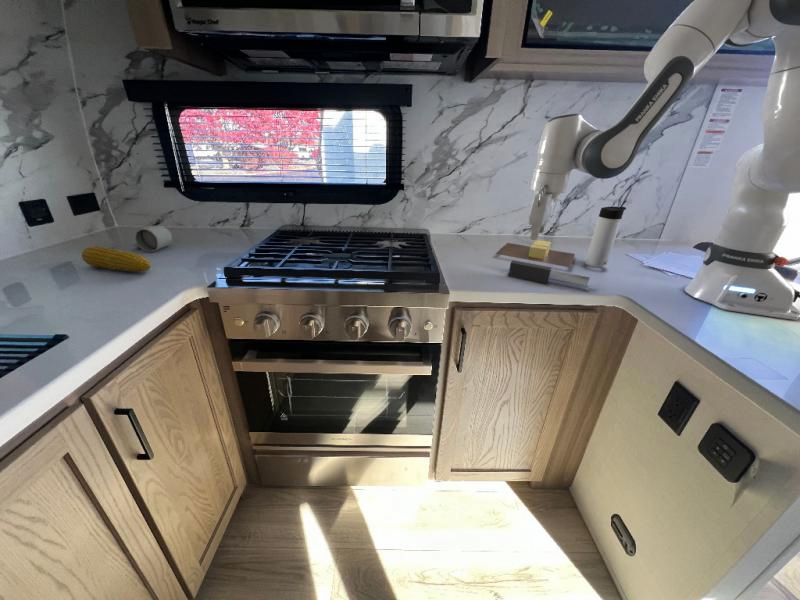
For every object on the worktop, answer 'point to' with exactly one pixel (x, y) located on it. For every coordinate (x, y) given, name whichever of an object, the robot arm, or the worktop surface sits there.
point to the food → (115, 259)
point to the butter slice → (537, 251)
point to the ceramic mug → (153, 238)
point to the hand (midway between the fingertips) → (536, 235)
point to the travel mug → (604, 236)
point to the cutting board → (550, 258)
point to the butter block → (543, 244)
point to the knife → (546, 275)
